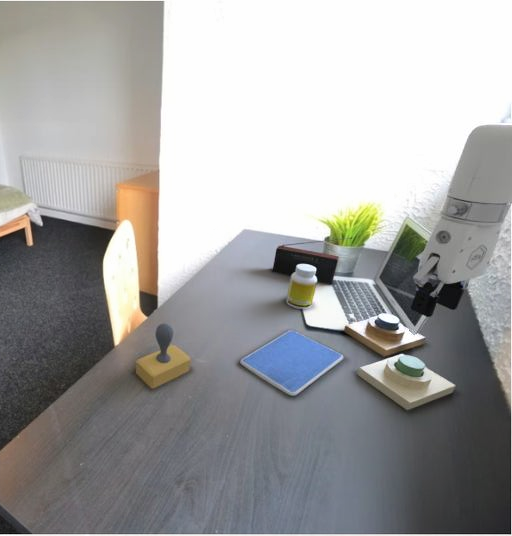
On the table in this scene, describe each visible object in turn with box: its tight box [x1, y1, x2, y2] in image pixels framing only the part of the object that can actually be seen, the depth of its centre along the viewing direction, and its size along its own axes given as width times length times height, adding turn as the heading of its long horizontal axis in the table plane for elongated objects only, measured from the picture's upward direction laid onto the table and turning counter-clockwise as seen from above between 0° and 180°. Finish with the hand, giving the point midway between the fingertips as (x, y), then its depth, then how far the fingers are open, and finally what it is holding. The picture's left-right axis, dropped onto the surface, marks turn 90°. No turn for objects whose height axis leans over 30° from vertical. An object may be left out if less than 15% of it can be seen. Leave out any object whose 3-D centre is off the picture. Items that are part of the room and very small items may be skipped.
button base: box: [343, 315, 426, 357], centre depth 85 cm, size 12×10×4 cm
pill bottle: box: [285, 264, 318, 310], centre depth 98 cm, size 6×6×11 cm
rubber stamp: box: [135, 322, 191, 389], centre depth 75 cm, size 10×6×12 cm, turn 121°
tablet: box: [240, 329, 344, 397], centre depth 79 cm, size 19×13×1 cm, turn 125°
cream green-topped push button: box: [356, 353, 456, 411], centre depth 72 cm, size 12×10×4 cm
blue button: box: [376, 312, 401, 331], centre depth 84 cm, size 4×4×2 cm
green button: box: [396, 354, 426, 377], centre depth 71 cm, size 4×4×2 cm
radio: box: [271, 237, 353, 286], centre depth 110 cm, size 19×3×15 cm, turn 55°
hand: (433, 308), depth 65 cm, fingers open, 5 cm apart
